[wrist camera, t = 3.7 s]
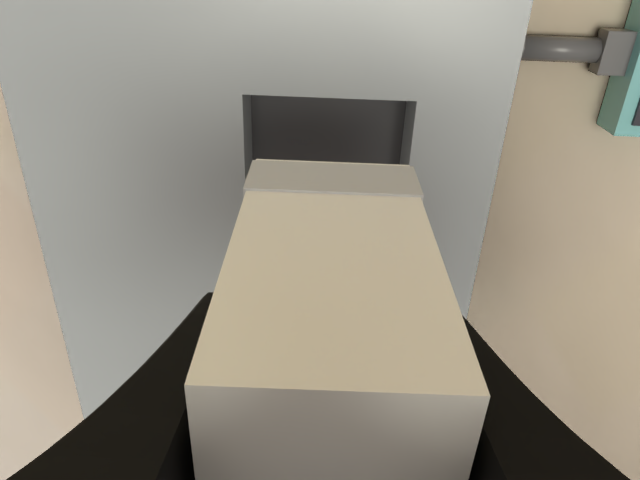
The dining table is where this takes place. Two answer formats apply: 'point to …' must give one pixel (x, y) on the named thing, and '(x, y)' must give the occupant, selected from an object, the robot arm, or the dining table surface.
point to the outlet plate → (234, 137)
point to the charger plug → (334, 336)
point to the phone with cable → (603, 67)
